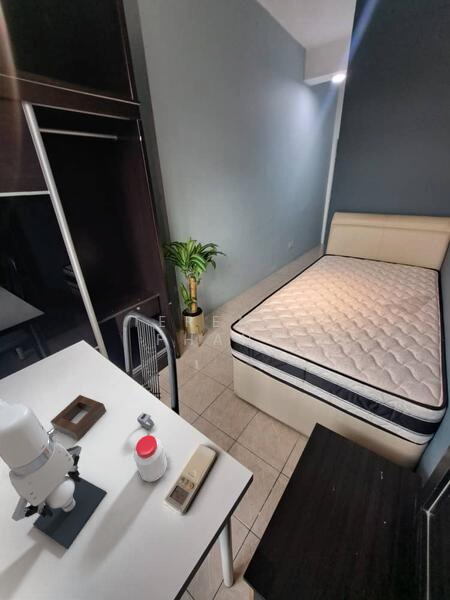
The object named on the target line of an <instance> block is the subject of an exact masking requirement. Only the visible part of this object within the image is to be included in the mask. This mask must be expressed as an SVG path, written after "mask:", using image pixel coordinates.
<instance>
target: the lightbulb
mask: <svg viewBox="0 0 450 600" xmlns="http://www.w3.org/2000/svg"><path fill="white" fill-rule="evenodd" d="M74 488H75V485H74V481H73V480H72V478H70V477H69V475H65V476H64V478H63V479H62V480H61V481H60V482H59V483H58V485H57V486H56V487H55V488H54V489H53V490H52V492H51V493H50V494H49V495H48V496H47V497H46V498H45V499H44V505H46V506H47V507H48V508H51V509H56V508H62V509H63V510H64V511H65V512H69V511H71V510H72V509H73V508H74V506H75V503H76V502H75V500H74V498H73V493H74Z"/></svg>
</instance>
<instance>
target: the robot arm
mask: <svg viewBox="0 0 450 600" xmlns="http://www.w3.org/2000/svg"><path fill="white" fill-rule="evenodd" d="M55 434H57V430H56V429H54V428H51V429H50V430H49V431H46V429H45V427H44V426H43V424H42V423H41V421H40V419H39V418H38V417H37V415H36V414H35V412H34V410H33V409H32V408H31V406H29V405H28V404H25V403H22V402H21V403H19V402H18V403H11V402H8V401H5V400H3V399H2V398H0V458H1V460H2V461H3V462H4V463H5V464H6V466H7V467H8V468H9V470H10V471H9V472H8V477H9V480H10V483H11V485H12V487H13V489H14V490H15V492H16V493H17V495H18V496H19V500H18V502H17V504H16V506H15V508H14V512H13V513H12V515H11V519H12V520H13V521H15V522H18V521H20V520H21V521H22V520H23V519H25V518H29V517H32V516H34V515H36V514H38V515H39V516H42V517H43V518H44V517H45V516H46V515H48V516H49V517H52V515H53V513H52V511H51V510H50V509H49V508H48V507H47V506H46V505H45V504H44V499H45V498H46V497H47V496H48V495H49V494H50V493H51V492H52V490H53V489H54V488H55V487H56V486H57V485H58V483H59V482H60V481H61V480H62V479H63V478H64V476H69V477H70V478H72V480H74V481H76V482H80V481H81V479H80V474H81V473H80V472H79V470H78V469H79V465H78V464H79V462H80V457H81V456H80V455H81V452H82V446H80V445H78V444H77V445H74V446H72V447H69V448H65V447H64V445H62V444H61V443H60V442H59V441H57V440H56V439H55V438H53V437H54V436H55ZM28 504H29V505H28ZM27 505H28V506H27Z"/></svg>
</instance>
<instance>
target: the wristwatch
mask: <svg viewBox="0 0 450 600" xmlns="http://www.w3.org/2000/svg"><path fill="white" fill-rule="evenodd" d="M151 417H152V415H150V414H148V413H146V412H142V413H141V414H140V415H139V416H138V417H137V422H138V423H139V424H140V425H141V427H143V428H145V429H147V430H152V429H153V428H154V427H155V422H154V421H153V420H152V419H151Z"/></svg>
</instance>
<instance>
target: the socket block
mask: <svg viewBox="0 0 450 600" xmlns="http://www.w3.org/2000/svg"><path fill="white" fill-rule="evenodd" d="M82 410H84V411H86V413H85V415H84V416H82V418H81V419H79V421H78V422H76V423H75V422H73V421H72V420H73V419H74V418H75V417H76V416H77V415H78V414H79V413H81V411H82ZM106 412H107V409H106V406H105V404H104V403H103V402H100V401H97V400H95V399H92V398H90V397H87V396H85V395H82V394H79V395H78V396H76V397H75V399H73V400H72V401H71V402H70V403H69V404H67V406H65V408H64V409H62V410H61V411H60V412H59V413H58V414H57V415H56V416H54V418H52V419H51V420H50V424H51V426H52V428H53V430H55V431H58V432H60V433H62V434H64V435H66V436H69V437H70V438H72V439H75V440H78V441H81V440H82V438H83V437H84V436H85V435H86V434H87V433H88V432H89V430H91V429H92V427H93V426H94V425H95V424H96V423H97V422H98V421H99V420H100V419H101V418H102V416H103V415H105V413H106Z"/></svg>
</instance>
